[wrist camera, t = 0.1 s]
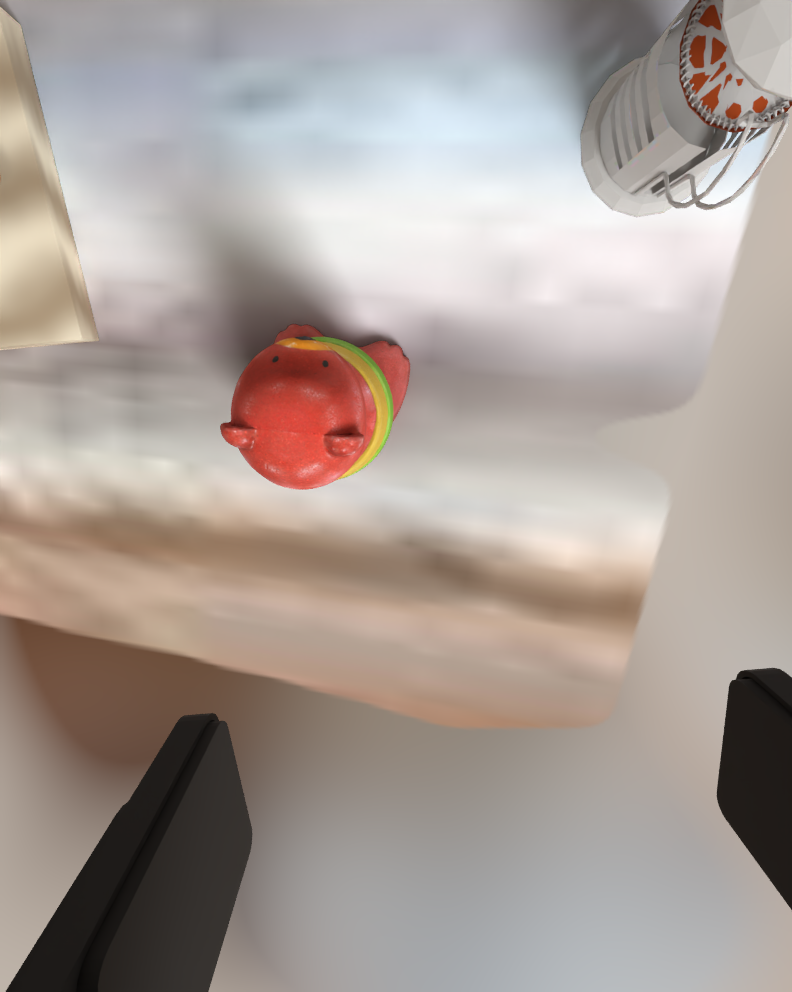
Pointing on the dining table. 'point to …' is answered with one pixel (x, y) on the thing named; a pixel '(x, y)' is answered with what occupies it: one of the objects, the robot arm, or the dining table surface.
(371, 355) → the stacking bear
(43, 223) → the stand
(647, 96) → the french press
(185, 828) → the robot arm
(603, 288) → the dining table surface
